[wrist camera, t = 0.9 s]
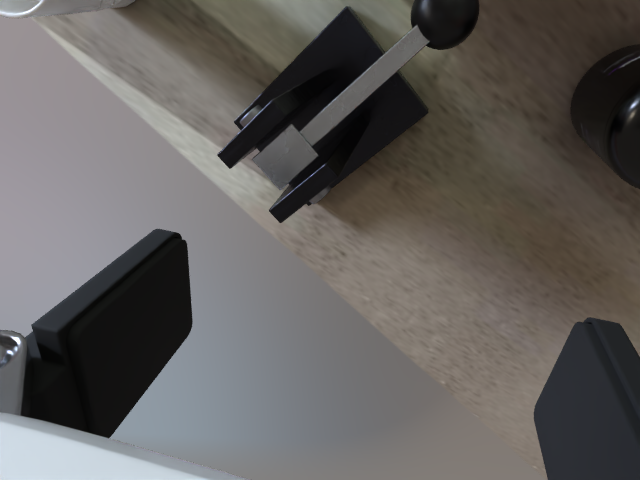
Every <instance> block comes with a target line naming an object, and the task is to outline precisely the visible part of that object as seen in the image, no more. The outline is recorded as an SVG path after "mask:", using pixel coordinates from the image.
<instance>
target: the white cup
mask: <svg viewBox="0 0 640 480" xmlns="http://www.w3.org/2000/svg"><path fill="white" fill-rule="evenodd" d="M134 1H136V0H0V16H3V17H7V18H28V17H39V16H52V15H65V14H75V13H82V12H91V11H98V10H102V9H105V8H116V7H126V6H127V5H129V4H131V3H132V2H134Z"/></svg>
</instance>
